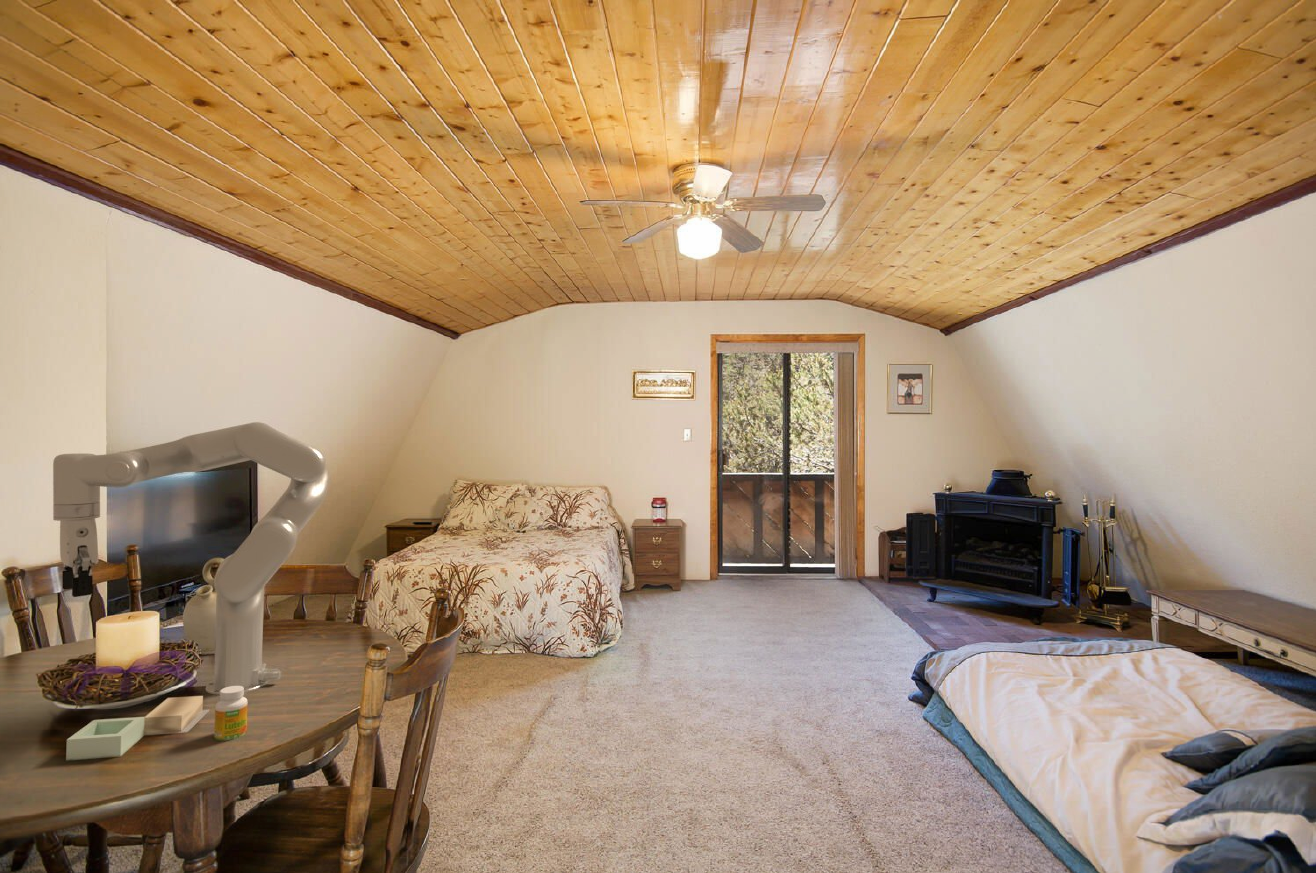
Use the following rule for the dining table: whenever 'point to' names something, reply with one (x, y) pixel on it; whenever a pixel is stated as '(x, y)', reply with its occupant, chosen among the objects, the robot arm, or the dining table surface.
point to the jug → (202, 613)
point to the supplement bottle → (231, 714)
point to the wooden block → (173, 714)
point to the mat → (187, 725)
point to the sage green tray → (105, 738)
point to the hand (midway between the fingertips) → (77, 591)
